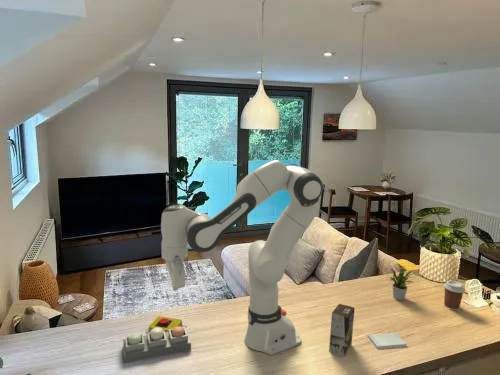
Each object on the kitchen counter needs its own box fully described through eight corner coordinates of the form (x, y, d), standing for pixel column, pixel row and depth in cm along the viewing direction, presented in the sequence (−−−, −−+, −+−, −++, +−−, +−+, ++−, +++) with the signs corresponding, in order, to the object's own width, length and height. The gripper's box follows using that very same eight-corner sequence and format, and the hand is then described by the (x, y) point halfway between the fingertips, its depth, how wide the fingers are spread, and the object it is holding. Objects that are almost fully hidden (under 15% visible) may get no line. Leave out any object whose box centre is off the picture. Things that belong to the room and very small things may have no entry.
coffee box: (345, 357, 137) (348, 317, 134) (328, 351, 140) (331, 312, 137) (352, 345, 144) (355, 307, 142) (336, 339, 148) (339, 302, 145)
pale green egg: (140, 340, 139) (140, 332, 138) (141, 346, 135) (141, 339, 134) (128, 342, 138) (128, 334, 137) (128, 349, 133) (128, 341, 133)
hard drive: (395, 332, 152) (367, 334, 150) (406, 344, 144) (377, 346, 142) (395, 335, 153) (367, 337, 151) (406, 347, 145) (377, 349, 143)
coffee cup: (465, 307, 176) (468, 284, 174) (457, 313, 170) (461, 289, 168) (445, 300, 183) (448, 277, 181) (437, 306, 177) (440, 282, 175)
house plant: (421, 306, 176) (424, 274, 173) (392, 305, 176) (395, 273, 173) (408, 292, 190) (412, 262, 187) (382, 291, 190) (384, 262, 187)
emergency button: (155, 312, 158) (187, 317, 154) (155, 322, 158) (187, 327, 155) (144, 324, 149) (178, 329, 145) (144, 334, 149) (178, 339, 146)
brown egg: (182, 332, 145) (182, 325, 144) (184, 338, 140) (184, 331, 140) (171, 334, 143) (171, 327, 142) (173, 340, 139) (173, 333, 138)
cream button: (162, 333, 142) (161, 326, 141) (163, 340, 138) (163, 332, 137) (150, 335, 140) (150, 328, 140) (151, 342, 136) (151, 335, 135)
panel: (186, 335, 148) (186, 323, 147) (191, 349, 139) (191, 337, 138) (123, 346, 140) (122, 334, 139) (124, 362, 131) (123, 350, 130)
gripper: (189, 261, 118) (189, 301, 121) (179, 241, 137) (179, 276, 140) (169, 263, 116) (170, 304, 119) (161, 243, 135) (162, 278, 138)
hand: (175, 288), depth 129 cm, fingers closed
